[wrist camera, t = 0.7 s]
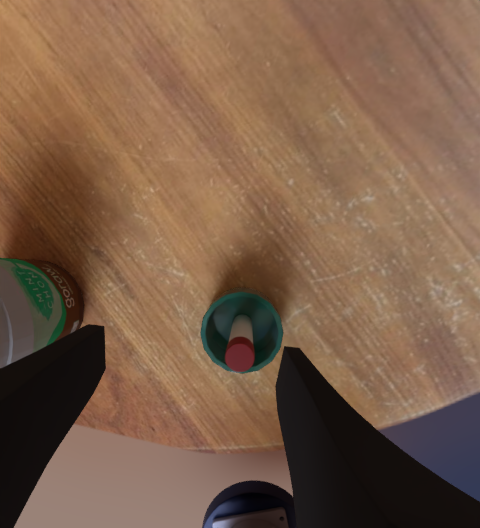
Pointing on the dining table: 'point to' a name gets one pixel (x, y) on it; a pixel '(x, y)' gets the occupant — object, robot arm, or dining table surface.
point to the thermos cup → (263, 326)
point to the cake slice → (35, 307)
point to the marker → (240, 345)
